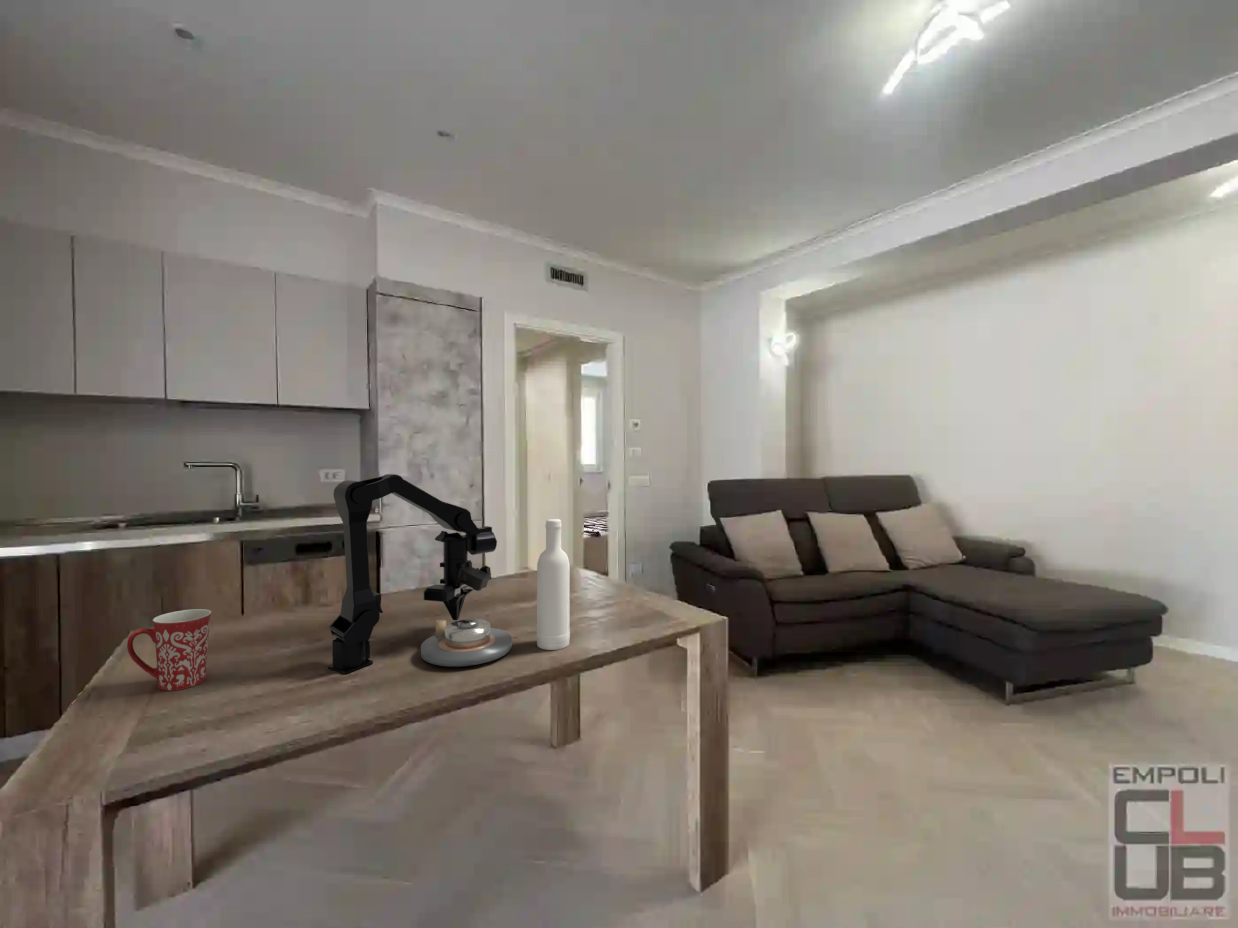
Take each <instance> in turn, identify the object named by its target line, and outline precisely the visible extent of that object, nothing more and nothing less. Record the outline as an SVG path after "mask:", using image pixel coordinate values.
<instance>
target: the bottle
mask: <svg viewBox="0 0 1238 928" xmlns="http://www.w3.org/2000/svg"><path fill="white" fill-rule="evenodd" d="M562 526H563V525H562V520H561V519H559V518H548V519H546V520H545V549H544V550H542V552H541V553H540V554H539V556H538V559H537V564H536V571H537V572H536V577H537V578H536V645H537V647H538V648H539V649H541V650H544V651H545V650H546V651H556V650H557V651H558V650H562V649H565V648H567V647H568V646H570V639H571V638H570V637H571V629H570V607H571V606H570V605H571V604H570V603H571V602H570V601H571V600H570V599H571V598H570V597H571V596H570V589H571V588H570V583H571V582H570V578H571V577H570V576H571V575H570V571H571V570H570V568H571V566H570V560H569V556H568V554H567V553H566V552H565V551H564V550H563V549H562Z"/></svg>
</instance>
